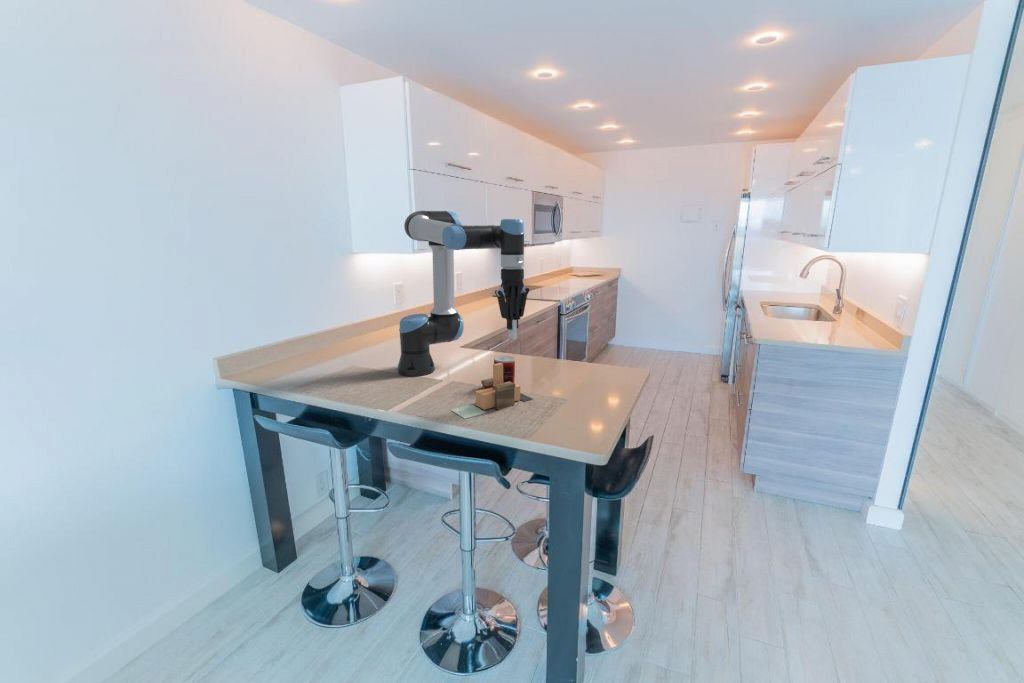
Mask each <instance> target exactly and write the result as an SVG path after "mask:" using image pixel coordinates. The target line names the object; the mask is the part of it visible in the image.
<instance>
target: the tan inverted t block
mask: <svg viewBox="0 0 1024 683" xmlns="http://www.w3.org/2000/svg"><path fill="white" fill-rule="evenodd" d="M492 376H493V377H492V378H493V385H497V384H501V383H503V364H502V363H497V364H494V363H492ZM520 393H521V385H519V384H517V383H515V388H514V402H517V401H521V400H520ZM475 407H477V408H479V409H481V410H483V411H485V410H488V409H492V408H495V390H494V389H493V387H490V388H486V389H479V390H475Z"/></svg>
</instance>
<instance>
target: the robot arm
mask: <svg viewBox="0 0 1024 683" xmlns="http://www.w3.org/2000/svg"><path fill="white" fill-rule="evenodd" d="M524 225H525V224H524V220H523V219H521V218H502V219H501V220H500V225H495V224H493V225H492V224H490V225H463V223H462V220H461V218H460V216H459V215H458V214H457V213H456V212H454V211H448V210H419V211H418V210H417V211H414V212H412V213H410V214H409V215H408V216H407V217H406V219H405V221H404V224H403V228H404V232H405V233H406V235H407V237H409V238H410V239H411V240H414V241H419V242H428V247H429V248H430V249H431V250H432V279H433V280H432V283H433V284H432V285H433V289H432V290H433V307H432V308H431V310H430V311H429V312H430V313H429V314H430V316H429V315H428V314H427V313H415V314H409V315H407V316H404V317H402V318H401V319H400V321H399V328H398V330H399V341H400V342H399V343H400V357H399V361H398V365H397V373H398V374H399V375H401V376H404V377H405V376H406V377H419V376H420V377H421V376H426V375H430V374H432V373H433V372H435V369H436V368H435V363H434V360H433V357H432V355H431V352H430V349H431V348H430V345H436V344H442V343H451V342H454V341H458V340H459V339H460V338H462V335H463V333H464V326H465V323H464V320H463V317H462V315H461V314H460V313H459V310H458V309H457V308H456V306H455V254H454V251H459V250H481V249H485V250H486V249H500V267H501V269H500V279H501V283H500V287H499V288H498V289H496V290H494V294H495V296H496V297H497V302H498V308H499V311H500V316H501V318H502V319H505V320H506V329H507V330H508V331H507V333H508V339H510V340H517V338H518V332H517V329H518V328H519V321H520V320H521V318H522V317H524V313H525V308H526V304H527V299H528V295H529V293H530V288H529V287H526V286H525V284H524V281H523V280H524V279H525V270H524V266H525V262H524V261H525V260H524V259H525V226H524Z"/></svg>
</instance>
